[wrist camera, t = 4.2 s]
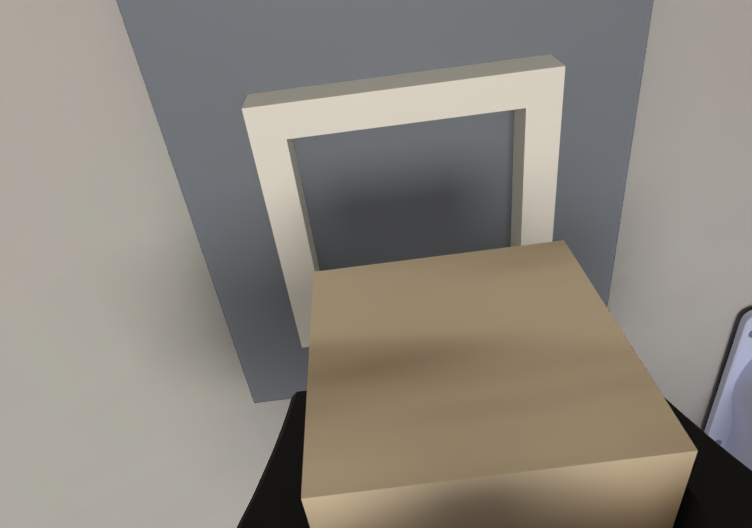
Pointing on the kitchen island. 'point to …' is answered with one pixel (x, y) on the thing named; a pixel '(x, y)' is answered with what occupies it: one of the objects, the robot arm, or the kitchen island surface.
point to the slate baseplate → (385, 140)
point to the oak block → (482, 400)
